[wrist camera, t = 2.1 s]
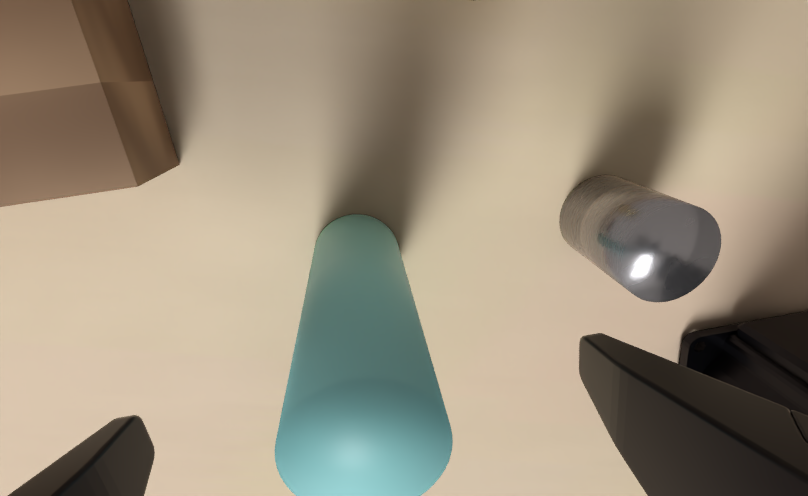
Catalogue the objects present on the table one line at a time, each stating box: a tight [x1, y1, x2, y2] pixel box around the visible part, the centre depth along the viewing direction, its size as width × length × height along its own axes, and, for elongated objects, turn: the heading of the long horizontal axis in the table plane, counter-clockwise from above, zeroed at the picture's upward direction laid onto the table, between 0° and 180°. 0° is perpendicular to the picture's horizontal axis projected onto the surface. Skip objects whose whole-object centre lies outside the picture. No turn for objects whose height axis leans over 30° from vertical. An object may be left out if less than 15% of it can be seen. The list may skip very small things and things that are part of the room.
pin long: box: [275, 214, 452, 496], centre depth 12 cm, size 3×3×9 cm
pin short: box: [559, 175, 721, 302], centre depth 15 cm, size 3×3×4 cm
